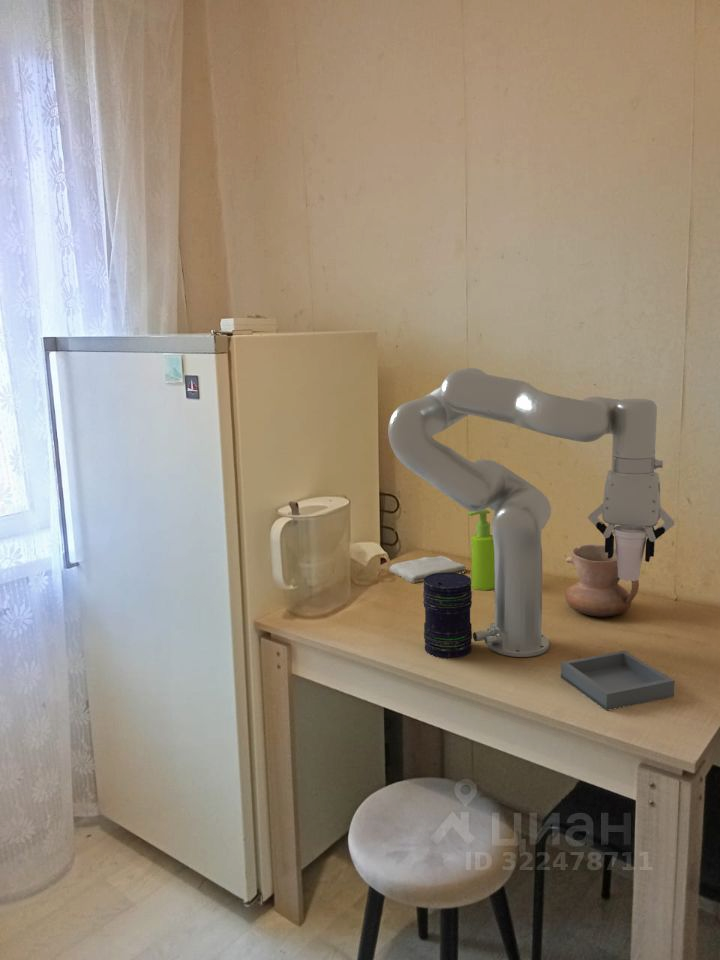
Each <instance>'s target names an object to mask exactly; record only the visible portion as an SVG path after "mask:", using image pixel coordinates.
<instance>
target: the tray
mask: <svg viewBox="0 0 720 960" xmlns="http://www.w3.org/2000/svg"><path fill="white" fill-rule="evenodd" d="M560 678H561V679H563V680H564V681H566V682H567V683H568V684H570V685H571V686H572V687H573V688H574V689H576V690H577V691H579V692H581V693H582V694H583V695H585V696H586V697H587V698H589V699H590V700H591V701H593V702H594V703H595V702H596V703H595V704H596V705H597V706H599V705H600V707H601V708H602V707H603V708H604V709H603V708H602V709H603V710H605V709H606V710H607V711H610V710H609V709H612V710H615V709H614V708H616V709H620V708H619V707H621V708H624V707H623V706H626V707H629V706H628V705H630V706H634V705H633V704H635V705H638V704H637V703H640V704H644V702H645V703H649V702H654V701H658V700H662V699H668V698H672V697H674V696H675V684H676V683H675V680H674V679H673V678H671V677H669V676H668V675H666V674H664V673H663V672H661V671H659V670H658V669H656V668H654V667H653V666H651V665H649V663H648V664H647V663H646V662H645V661H643V660H641V659H640V658H637V657H636V656H634V655H633V654H631V653H629V652H627V651H626V650H619V651H614V652H608V653H603V654H598V655H593V656H587V657H581V658H577V659H571V660H566V661H561V662H560ZM606 710H605V711H606Z"/></svg>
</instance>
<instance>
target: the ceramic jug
mask: <svg viewBox="0 0 720 960" xmlns="http://www.w3.org/2000/svg"><path fill="white" fill-rule="evenodd" d="M565 562H566V563H568V564H572V565H573V566H574V567H575V570H576V574H577V577H578V579H579V581H577V582H575V583H574V584H572V585H570V586H568V587H567V589H566V592H565V594H564V595H565V600H566V603H567V605H568V606H569V607H570V608H571V609H573V610H574V611H576V612H578V613H580V614H582V615H586V616H591V617H602V618H603V617H606V618H607V617H612V616H613V617H614V616H618V615H621V614H623V613H625V612H626V611H628V610H629V609H630V608H631V605H632V601H634V599H635V598H636V596H637V593H638V592H639V587H640V583H639V579H638V580H636V581H631V591H630V592H628V590H627V589H626V588H624V586H621V585H620V584H619V581H620V580H621V579H620V578H618V567H617V555H616V546H614V554H613V557H612V558H611V559H610V558H608V553H605V544H584V545H583V544H582V545H579V546H578V547H577V546H575V547H574V548H573V549H572V550H571V556H568V557H567V558H566V559H565Z"/></svg>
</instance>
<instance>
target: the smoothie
mask: <svg viewBox="0 0 720 960" xmlns="http://www.w3.org/2000/svg"><path fill="white" fill-rule="evenodd" d="M612 532H613V536H614V544H615V547H616V555H617V567H618V578H620V580H622V581H627V582H628V581H629V582H632V581H636V580H638V581H639V578H640V574H641V569H642V562H643V557H644V552H645V549H646V540H647V538H648V535H647V533H646V530H645V528H644V527H639V526H625V525H615V527H614V529H613V531H612Z"/></svg>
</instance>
